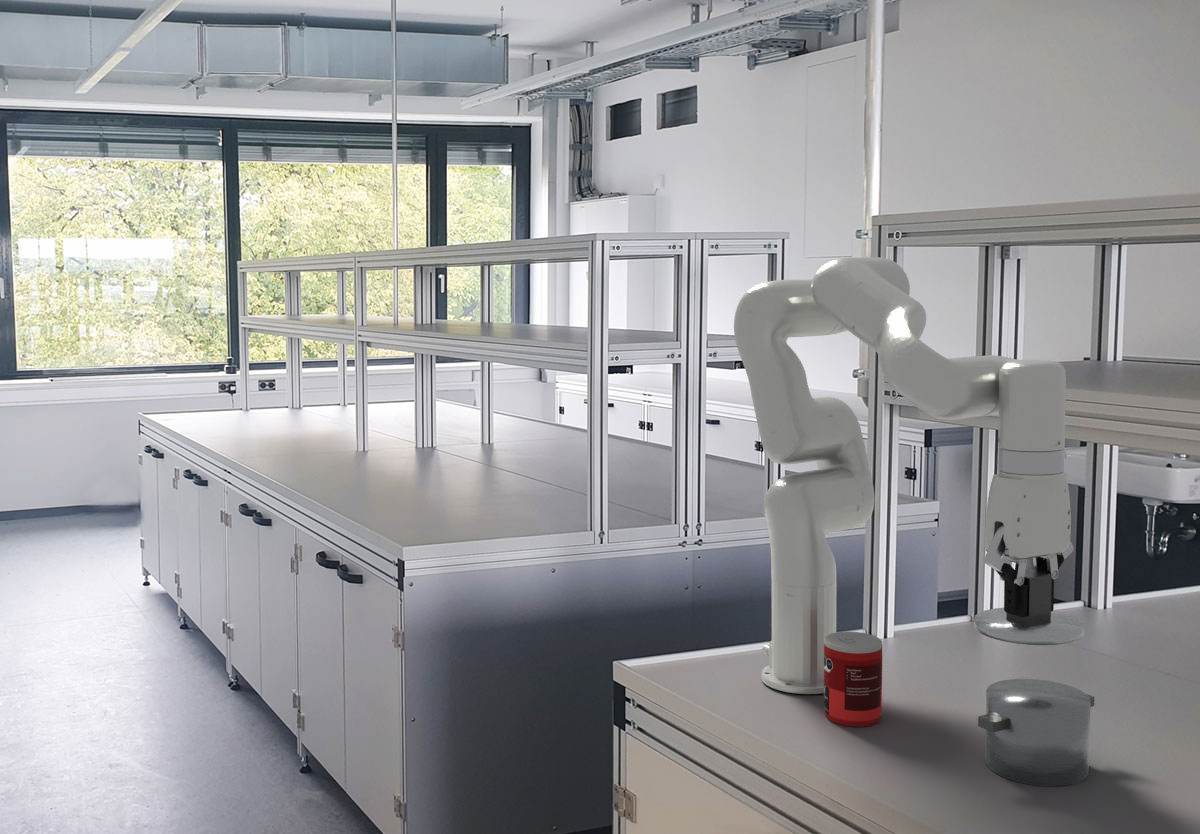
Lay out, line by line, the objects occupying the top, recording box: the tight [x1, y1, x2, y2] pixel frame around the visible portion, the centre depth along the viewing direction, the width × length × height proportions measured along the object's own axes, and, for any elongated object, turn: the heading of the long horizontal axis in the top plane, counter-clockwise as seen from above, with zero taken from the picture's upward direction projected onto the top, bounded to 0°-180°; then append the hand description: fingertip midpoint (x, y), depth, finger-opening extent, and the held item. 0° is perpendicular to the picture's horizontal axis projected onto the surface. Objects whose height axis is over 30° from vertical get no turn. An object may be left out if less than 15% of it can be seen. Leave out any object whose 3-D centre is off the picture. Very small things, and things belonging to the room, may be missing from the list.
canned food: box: [823, 631, 883, 728], centre depth 163 cm, size 8×8×11 cm
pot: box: [977, 678, 1095, 788], centre depth 146 cm, size 12×17×9 cm
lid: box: [973, 568, 1085, 646], centre depth 144 cm, size 13×13×7 cm
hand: (1028, 610), depth 144 cm, fingers closed on lid, 3 cm apart
